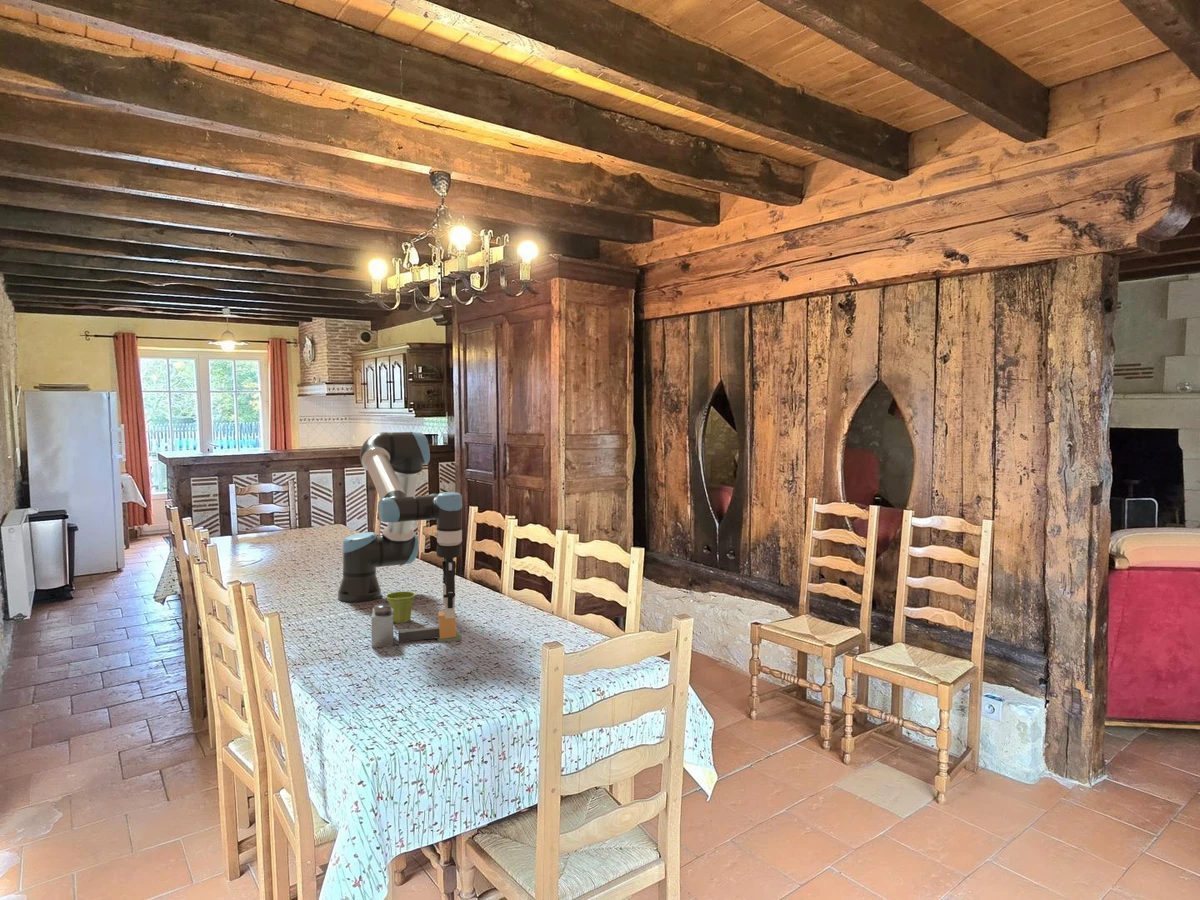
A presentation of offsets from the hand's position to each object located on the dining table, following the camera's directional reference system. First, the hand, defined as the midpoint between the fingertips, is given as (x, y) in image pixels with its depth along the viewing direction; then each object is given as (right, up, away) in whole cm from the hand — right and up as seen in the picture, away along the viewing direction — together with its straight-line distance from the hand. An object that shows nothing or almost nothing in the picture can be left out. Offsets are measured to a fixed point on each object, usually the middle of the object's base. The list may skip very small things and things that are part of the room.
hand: (448, 611), depth 218 cm
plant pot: (-19, -7, +17) cm, 26 cm away
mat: (0, -8, 0) cm, 8 cm away
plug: (-6, -8, -2) cm, 10 cm away
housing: (-19, -8, -5) cm, 21 cm away
